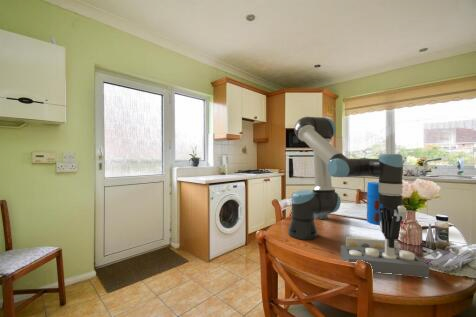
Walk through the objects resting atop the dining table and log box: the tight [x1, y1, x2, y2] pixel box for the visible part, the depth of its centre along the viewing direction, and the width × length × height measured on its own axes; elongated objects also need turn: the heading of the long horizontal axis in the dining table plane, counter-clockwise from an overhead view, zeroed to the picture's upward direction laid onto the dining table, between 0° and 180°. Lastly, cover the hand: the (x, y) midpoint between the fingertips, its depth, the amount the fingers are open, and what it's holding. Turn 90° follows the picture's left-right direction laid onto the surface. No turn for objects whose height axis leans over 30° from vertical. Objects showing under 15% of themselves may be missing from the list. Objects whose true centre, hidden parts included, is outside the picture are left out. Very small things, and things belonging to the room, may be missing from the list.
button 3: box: [382, 252, 396, 259], centre depth 84 cm, size 5×5×3 cm
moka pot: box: [314, 214, 329, 220], centre depth 149 cm, size 10×15×20 cm, turn 107°
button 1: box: [349, 250, 362, 256], centre depth 87 cm, size 5×5×3 cm
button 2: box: [365, 248, 379, 257], centre depth 86 cm, size 5×5×3 cm
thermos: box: [366, 181, 383, 226], centre depth 138 cm, size 11×11×25 cm
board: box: [340, 245, 430, 278], centre depth 85 cm, size 26×12×4 cm, turn 78°
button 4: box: [399, 249, 415, 261], centre depth 83 cm, size 5×5×3 cm
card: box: [345, 236, 399, 250], centre depth 94 cm, size 20×1×7 cm, turn 78°
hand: (389, 254), depth 84 cm, fingers closed
